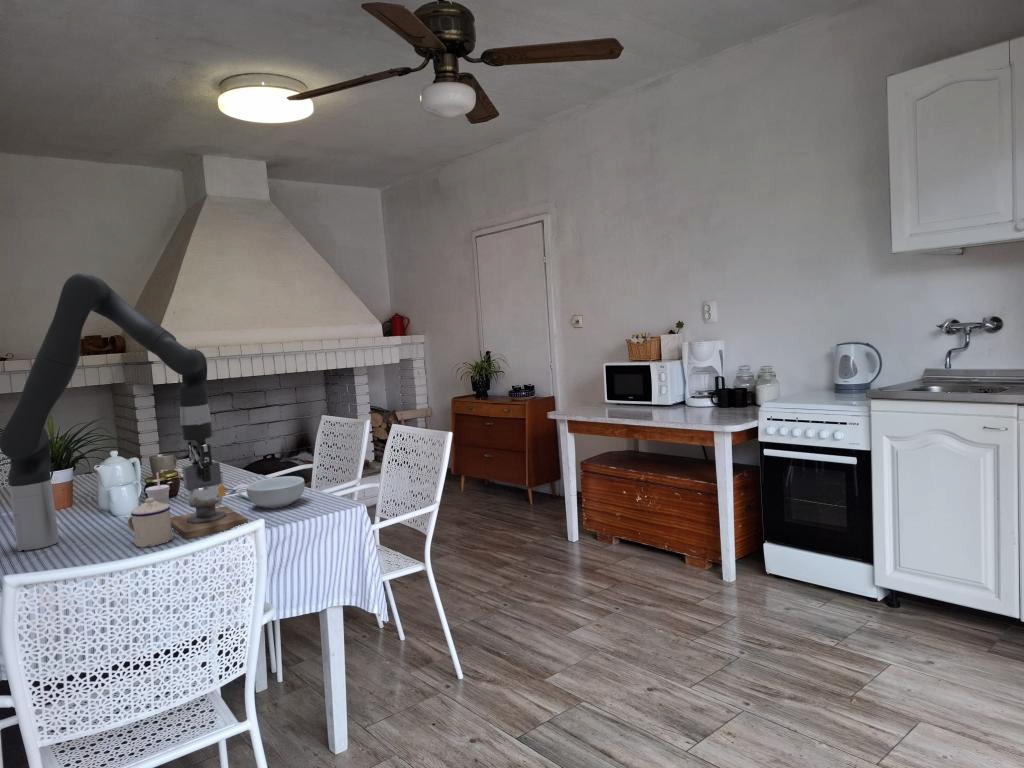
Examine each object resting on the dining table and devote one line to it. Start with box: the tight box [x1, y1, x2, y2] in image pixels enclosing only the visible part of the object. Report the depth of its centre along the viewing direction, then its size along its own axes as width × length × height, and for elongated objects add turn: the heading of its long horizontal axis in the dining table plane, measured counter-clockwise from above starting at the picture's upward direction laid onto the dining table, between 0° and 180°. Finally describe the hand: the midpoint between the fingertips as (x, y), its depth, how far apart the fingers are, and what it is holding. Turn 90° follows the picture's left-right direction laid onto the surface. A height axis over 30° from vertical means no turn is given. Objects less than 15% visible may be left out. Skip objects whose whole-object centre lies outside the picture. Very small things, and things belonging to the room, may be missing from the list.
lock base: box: [170, 504, 249, 540], centre depth 194 cm, size 16×20×6 cm
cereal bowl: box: [245, 475, 306, 509], centre depth 212 cm, size 17×17×7 cm
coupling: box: [181, 460, 226, 508], centre depth 193 cm, size 10×8×11 cm
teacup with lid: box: [126, 497, 173, 548], centre depth 181 cm, size 12×9×12 cm
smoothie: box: [145, 472, 171, 505], centre depth 203 cm, size 6×6×14 cm
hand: (202, 479), depth 193 cm, fingers open, 8 cm apart
